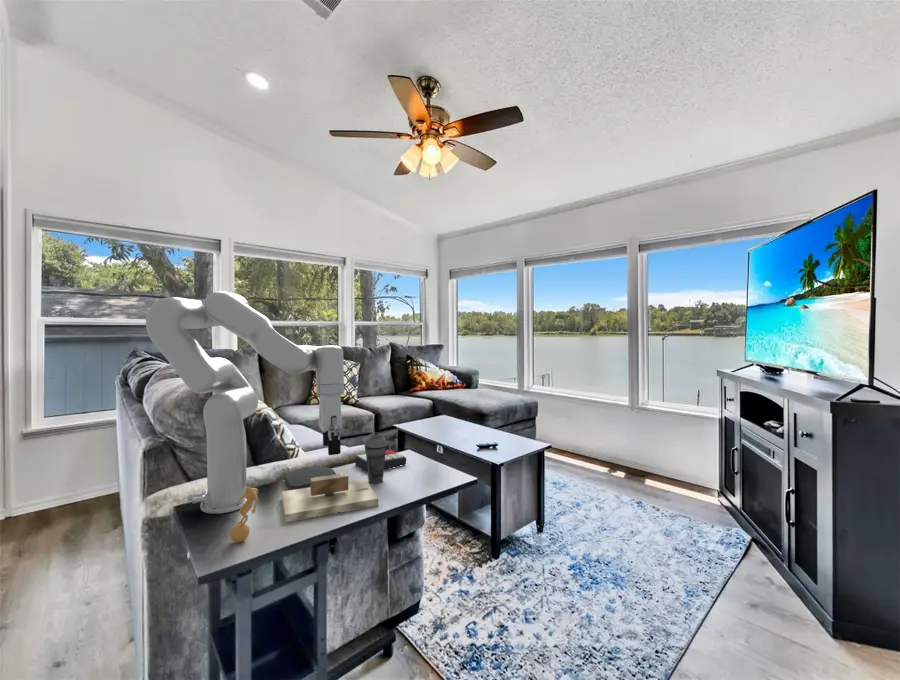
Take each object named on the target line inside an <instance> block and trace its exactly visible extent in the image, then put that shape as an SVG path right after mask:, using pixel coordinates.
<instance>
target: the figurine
mask: <svg viewBox="0 0 900 680" xmlns="http://www.w3.org/2000/svg"><path fill="white" fill-rule="evenodd" d="M258 492H259V489H258V488H256V487H249V486H246V491H245V494H244V495H243V496H242V497H241V499H240V500H239V502H240V501H241V500H242V499H243V498H244V497H245V496H246V502H245V503H244V505H243V506H242V508H241V509H238V510H239V511H238V514H239V515H241V516H242V518H241V519H240V521H238V522H237V523H236V524H234V526H232V528H231V529H230V531H229V538H230V539H231V541H233V542H234V543H242V542H244V541H245V540H247V539H248V537H249V535H250V527H249V525H248V524H246V523H247V521H248V520H249V515H248V513H249V511H250V512H251V515H254V514H255V512H256V508H257V505H258V502H259V497H258ZM254 500H255V503H254V506H252V504H253V502H254ZM239 502H238V503H239ZM252 508H253V509H252ZM251 509H252V510H251Z"/></svg>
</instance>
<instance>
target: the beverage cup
mask: <svg viewBox="0 0 900 680" xmlns="http://www.w3.org/2000/svg"><path fill="white" fill-rule="evenodd" d="M371 428H372V433H371V434H369V435H368V436H367V438H366V439H365V442H364V446H363V447H364V451H365V454H366V459H367V471H368V473H367V478H368V484H370V485H371V484H372V485H378V484H381V483H383V481H384V473H385V472H384V471H385V470H384V463H385V452H386V450H388V449H387V447H388V441H387V439H386V437H385V436H384V435H383V434H382V433H380V432H376V431H375V426H374V419H371Z"/></svg>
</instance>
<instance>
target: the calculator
mask: <svg viewBox="0 0 900 680" xmlns="http://www.w3.org/2000/svg"><path fill="white" fill-rule="evenodd" d="M354 463H355V465H356V466H355V467H356V468H358V467H359V468H358V469H360V468H361V469H360V470H362V471H363V472H365V471H366V472H365V473H367V472H368V471H367V459H366V453H364V454H358V455H356V456H355V462H354ZM405 464H406V465H407V457H406V456H405V455H403V454H401V453H399V452H397V451H394V450H392V449H386V452H385V463H384V471H386V470H390V469H389V468H391V469H394V468H393V467H396V468H398V467H397V466H400V465H404V466H406V465H405ZM400 467H401V466H400ZM385 469H386V470H385Z"/></svg>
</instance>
